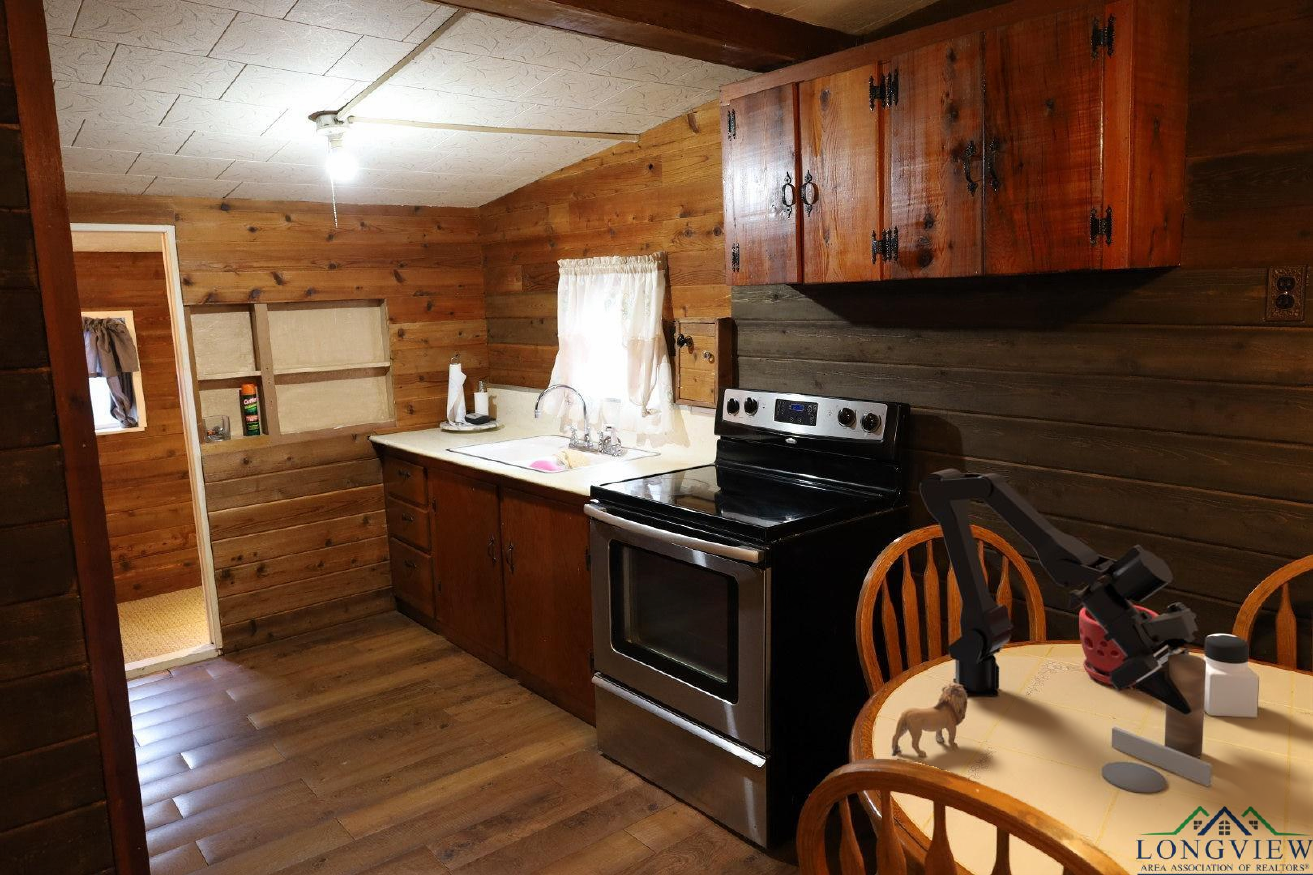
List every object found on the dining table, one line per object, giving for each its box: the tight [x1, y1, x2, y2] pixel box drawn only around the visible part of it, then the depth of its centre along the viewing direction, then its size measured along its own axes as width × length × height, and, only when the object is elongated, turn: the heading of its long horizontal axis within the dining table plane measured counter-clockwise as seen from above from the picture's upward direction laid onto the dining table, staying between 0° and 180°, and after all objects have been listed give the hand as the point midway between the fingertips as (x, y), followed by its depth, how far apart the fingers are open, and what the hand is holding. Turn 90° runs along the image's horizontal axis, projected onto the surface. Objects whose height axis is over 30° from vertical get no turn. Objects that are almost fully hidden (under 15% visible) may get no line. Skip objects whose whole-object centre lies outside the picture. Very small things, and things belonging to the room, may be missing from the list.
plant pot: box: [1078, 604, 1159, 688], centre depth 158 cm, size 13×13×12 cm
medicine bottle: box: [1201, 633, 1260, 719], centre depth 144 cm, size 7×7×12 cm
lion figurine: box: [891, 682, 969, 757], centre depth 135 cm, size 15×5×9 cm, turn 118°
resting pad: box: [1101, 761, 1167, 794], centre depth 125 cm, size 8×8×1 cm
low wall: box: [1111, 726, 1213, 787], centre depth 128 cm, size 14×1×3 cm, turn 30°
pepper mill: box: [1163, 654, 1206, 759], centre depth 130 cm, size 5×5×14 cm
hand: (1195, 707), depth 129 cm, fingers closed on pepper mill, 5 cm apart
